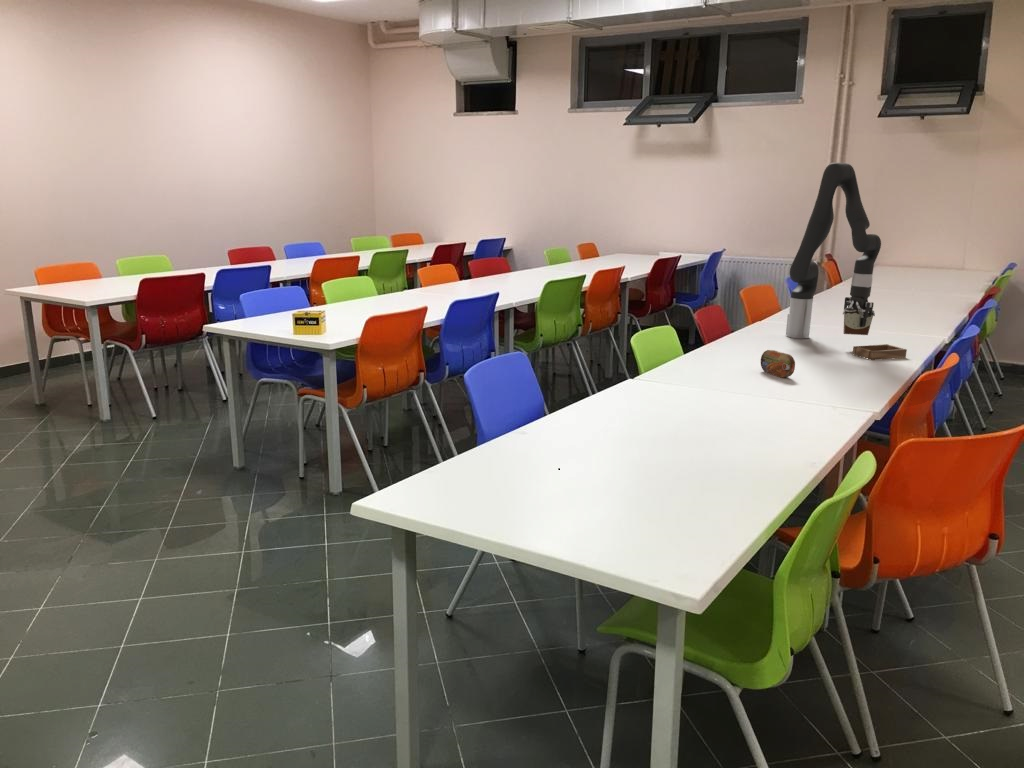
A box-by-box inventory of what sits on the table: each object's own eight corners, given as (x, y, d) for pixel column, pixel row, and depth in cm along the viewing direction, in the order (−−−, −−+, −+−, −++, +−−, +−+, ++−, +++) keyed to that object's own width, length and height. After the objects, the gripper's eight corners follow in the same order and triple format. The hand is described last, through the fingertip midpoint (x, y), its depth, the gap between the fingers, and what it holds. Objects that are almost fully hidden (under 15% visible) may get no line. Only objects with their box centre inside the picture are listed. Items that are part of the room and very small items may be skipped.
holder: (852, 354, 315) (853, 346, 314) (885, 352, 320) (886, 344, 319) (871, 360, 305) (872, 351, 304) (905, 357, 310) (906, 349, 309)
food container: (866, 332, 327) (870, 308, 324) (871, 335, 321) (875, 311, 318) (835, 330, 328) (839, 306, 325) (840, 333, 322) (843, 309, 319)
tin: (758, 370, 287) (761, 347, 285) (765, 369, 288) (767, 347, 286) (788, 380, 274) (790, 356, 272) (795, 379, 275) (797, 355, 273)
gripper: (841, 282, 324) (836, 322, 328) (866, 287, 311) (860, 329, 315) (856, 281, 326) (850, 321, 331) (882, 287, 313) (875, 328, 318)
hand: (855, 325), depth 323 cm, fingers closed on food container, 7 cm apart
